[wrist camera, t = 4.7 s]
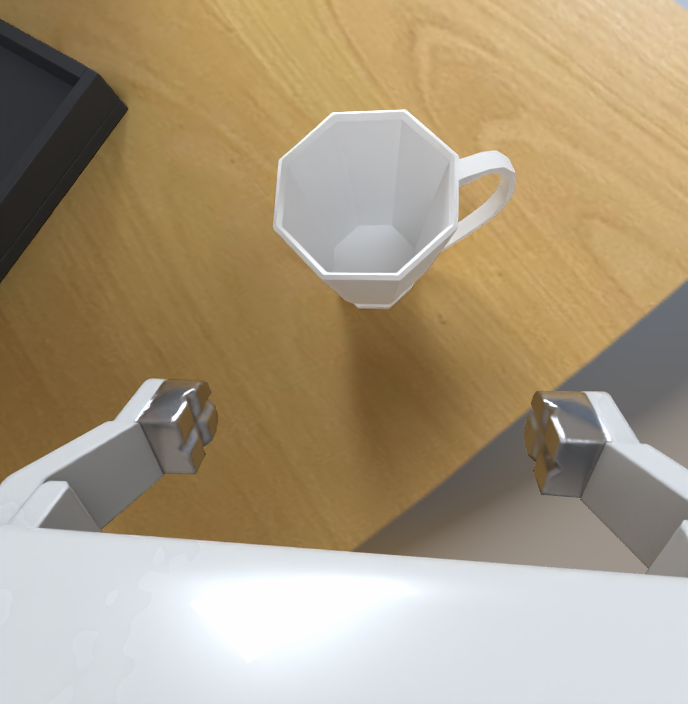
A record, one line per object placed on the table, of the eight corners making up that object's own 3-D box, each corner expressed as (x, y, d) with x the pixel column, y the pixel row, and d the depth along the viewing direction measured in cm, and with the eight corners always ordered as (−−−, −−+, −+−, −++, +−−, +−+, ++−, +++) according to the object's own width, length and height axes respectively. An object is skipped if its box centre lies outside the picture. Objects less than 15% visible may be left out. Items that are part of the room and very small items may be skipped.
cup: (295, 239, 23) (244, 146, 16) (463, 174, 23) (500, 43, 15) (335, 354, 22) (302, 316, 14) (516, 288, 21) (586, 209, 14)
